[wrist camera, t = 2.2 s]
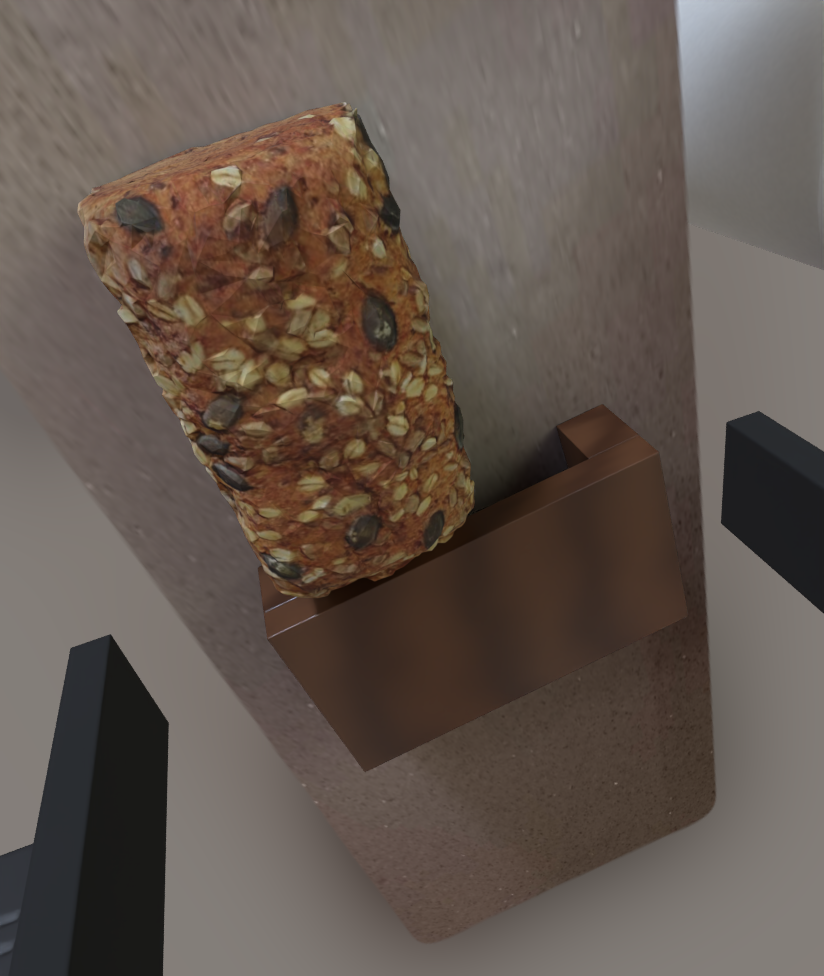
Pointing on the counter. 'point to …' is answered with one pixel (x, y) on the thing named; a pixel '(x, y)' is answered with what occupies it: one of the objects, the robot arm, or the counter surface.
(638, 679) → the counter surface
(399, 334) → the bread
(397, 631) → the shelf
